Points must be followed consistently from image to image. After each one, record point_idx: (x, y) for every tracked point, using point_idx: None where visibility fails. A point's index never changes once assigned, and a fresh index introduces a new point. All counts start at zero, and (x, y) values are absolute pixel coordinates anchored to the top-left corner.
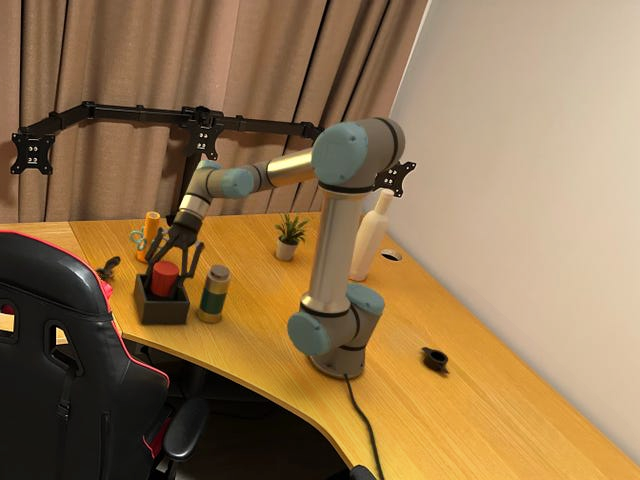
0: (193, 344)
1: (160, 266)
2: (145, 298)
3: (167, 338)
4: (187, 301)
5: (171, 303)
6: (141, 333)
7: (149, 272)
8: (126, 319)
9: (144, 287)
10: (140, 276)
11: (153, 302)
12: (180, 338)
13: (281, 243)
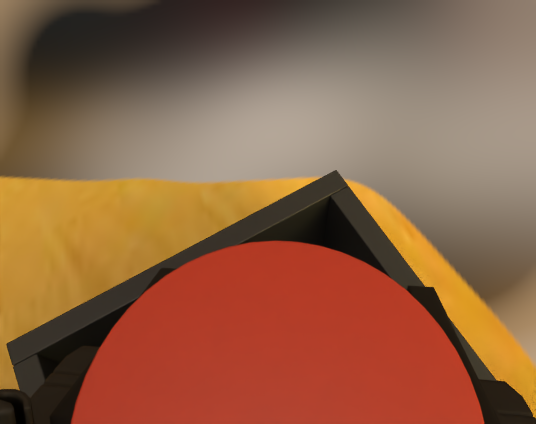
0: (33, 233)
1: (376, 414)
2: (354, 217)
3: (167, 212)
4: (31, 352)
5: (156, 266)
6: (296, 185)
7: (475, 380)
8: (411, 246)
9: (418, 289)
10: None
11: (283, 204)
12: (103, 243)
13: None
